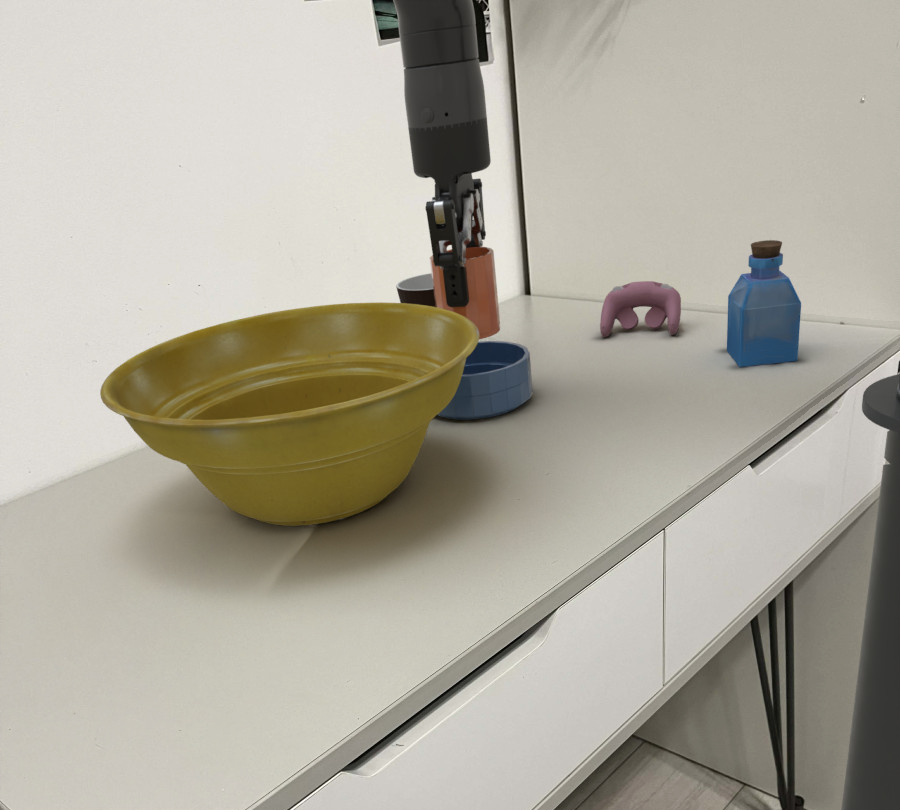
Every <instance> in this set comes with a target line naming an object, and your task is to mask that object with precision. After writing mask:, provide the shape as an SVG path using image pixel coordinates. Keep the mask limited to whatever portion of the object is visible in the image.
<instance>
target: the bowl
mask: <svg viewBox="0 0 900 810" xmlns="http://www.w3.org/2000/svg"><path fill="white" fill-rule="evenodd" d="M533 393H534V388H533V376H532V366H531V353H530V351H529V349H528V347H526V346H524V345H523V344H521V343H517V342H512V341H505V340H504V341H503V340H479V341H478V344H477V346H476V347H475V349H474V350H473V352H472V353H471V354H470V355H469V356H468V357H467V358H466V362H465V366H464V370H463V374H462V377H461V380H460V383H459V386H458V388H457V391H456V393H455V395H454V397H453V398H452V400H451V401H450V403H449V404H448V405H447V406H446V407H445V408H444V409H443V410H442V411H441V412H440V413H439V414H437V415H436V416H438V417H441V418H444V419H449V420H458V421H459V420H463V421H464V420H465V421H466V420H467V421H468V420H481V419H487V418H493V417H497V416H499V415H503V414H508V413H509V412H511V411H513V410H516V409H518V408H519V407H520V406H522V405H523V404H525V403H526V402H527V401H528V400H530V399H531V397H532V395H533Z"/></svg>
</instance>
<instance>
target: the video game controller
mask: <svg viewBox="0 0 900 810" xmlns="http://www.w3.org/2000/svg"><path fill="white" fill-rule="evenodd" d="M639 307H640V308H641V307H647V308H650V309H648V310H647V312H646V313H645V316H644V323H645V325H646V326H647V327H648V328H649V329H650V330H658V329H660V328H661V327H662V326H663V325H664V323H665V321H667V328H668V332H669V334H670V335H671V336H675V334H677V332H678V330H679V327H680V322H681V316H682V315H681V314H682V298H681V295H680V293H679V291H678V290H677V289H676V288H675V287H673V286H671V285H669V284H668V283H662V282H657V281H653V280H646V281H645V280H644V281H632V282H629V283H626V284H623V285H618V286H614V287H613V288H612V289H611V290H610V291H609V292H608V293H607V295H606V296H605V298H604V301H603V304H602V307H601V312H600V323H599V329H600V334H601V336H602V337H603V338H607V337H609V335H610V334H611V332H612V331H613V327H614V325H615V321H616V320H617V321H618V322H619V324H620V325H621V327H622V328H623V329H624V330H626V331H631V330H634V329H635V328H637V326H638V325H639V316H638V314H637V312H636V311H635V310H634V309H635V308H639Z"/></svg>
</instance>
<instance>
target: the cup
mask: <svg viewBox="0 0 900 810" xmlns="http://www.w3.org/2000/svg"><path fill="white" fill-rule="evenodd" d="M447 252H452V248H451V249H447ZM429 264H430V273H432V281H433V289H434V297H435V305H436V307H437V308H441V309H445V310H449V311H452V312H455V313H458V314H460V315H462V316H464V317H466V318H467V319H469V320H470V321H472V322H473V323H474V324H475V326H476V327H477V328H478V331H479V340H483V339H487V338H491V337H492V336H494V335H496V334H498V333H499V332H500V331H501V318H500V309H499V308H500V307H499V297H498V285H497V274H496V263H495V252H494V249H493V248H492V247H487V246H482V247H466V266H465V267H466V273H467V282H468V292H469V303H468V304H467V305H466V306H464V307H449V306H448V305H447V302H446V293H445V285H444V276H443V269H440V266H435V265H434V262H433V254H432V255H431V256H430V257H429Z"/></svg>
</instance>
